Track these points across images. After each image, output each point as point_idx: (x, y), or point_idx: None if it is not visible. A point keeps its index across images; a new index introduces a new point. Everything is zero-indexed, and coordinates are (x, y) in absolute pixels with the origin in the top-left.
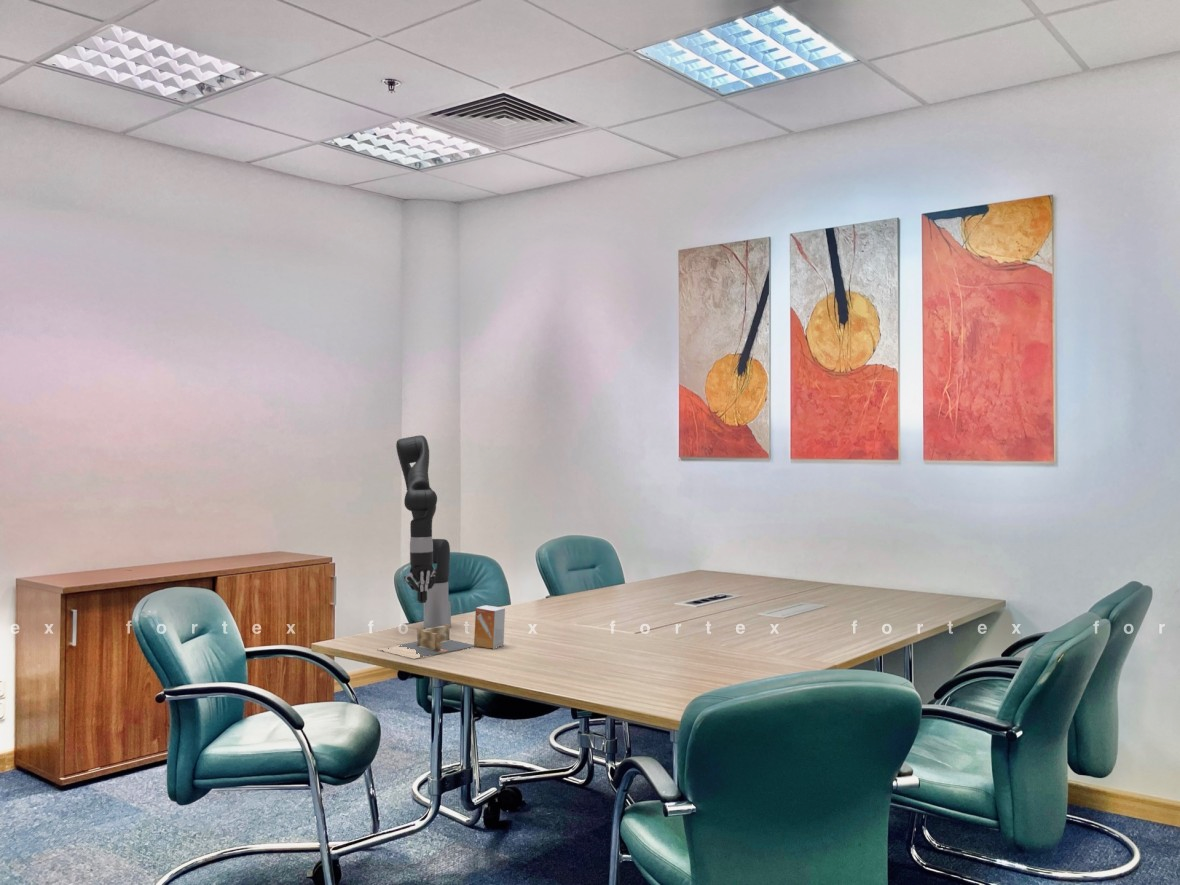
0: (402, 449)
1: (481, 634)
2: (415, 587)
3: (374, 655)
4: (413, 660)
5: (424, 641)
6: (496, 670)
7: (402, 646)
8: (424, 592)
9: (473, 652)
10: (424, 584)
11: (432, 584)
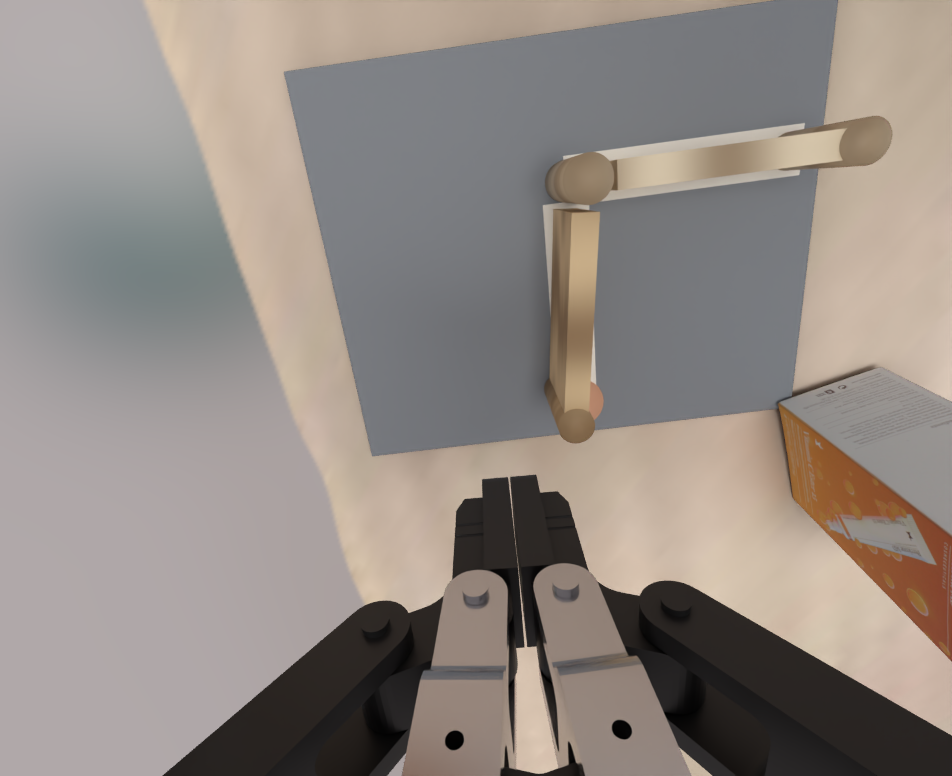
0: None
1: (826, 479)
2: (351, 751)
3: (226, 224)
4: (365, 465)
5: (557, 263)
6: (540, 755)
7: (461, 124)
8: (531, 638)
9: (681, 494)
10: (559, 753)
11: (722, 737)
